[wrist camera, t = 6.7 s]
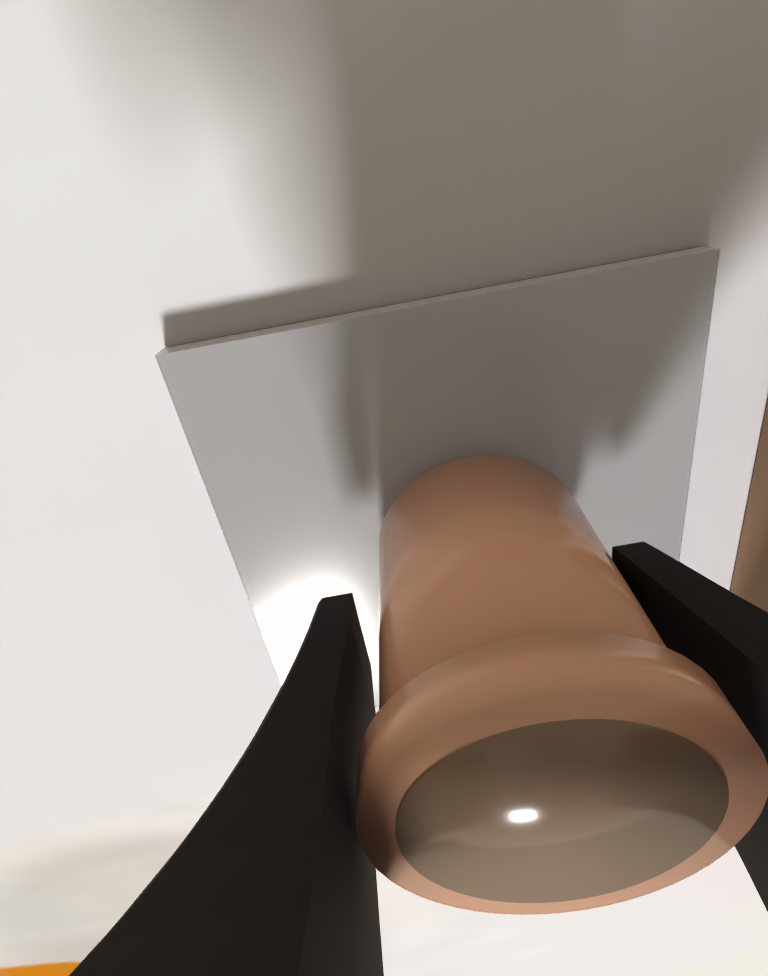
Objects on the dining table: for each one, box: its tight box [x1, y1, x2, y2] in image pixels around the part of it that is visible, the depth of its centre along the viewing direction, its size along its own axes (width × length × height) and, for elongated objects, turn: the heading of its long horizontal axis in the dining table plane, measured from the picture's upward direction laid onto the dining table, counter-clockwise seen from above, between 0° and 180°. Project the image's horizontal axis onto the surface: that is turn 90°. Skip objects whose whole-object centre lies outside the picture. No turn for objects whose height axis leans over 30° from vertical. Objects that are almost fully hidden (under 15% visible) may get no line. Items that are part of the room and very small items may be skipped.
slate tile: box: [155, 247, 720, 707], centre depth 13 cm, size 11×11×1 cm
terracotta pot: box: [356, 455, 768, 914], centre depth 9 cm, size 5×5×6 cm
